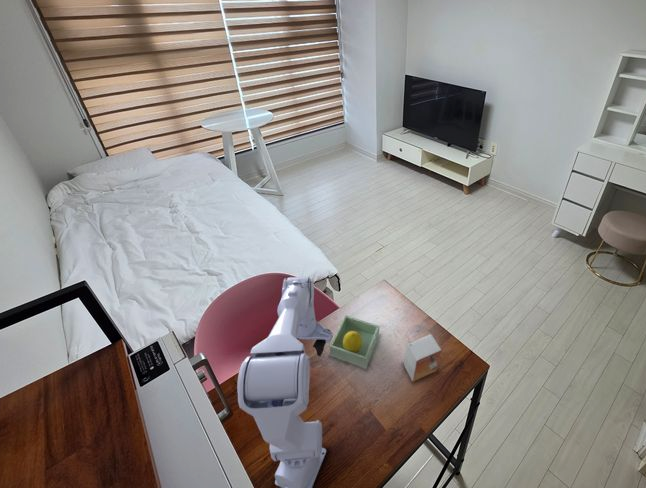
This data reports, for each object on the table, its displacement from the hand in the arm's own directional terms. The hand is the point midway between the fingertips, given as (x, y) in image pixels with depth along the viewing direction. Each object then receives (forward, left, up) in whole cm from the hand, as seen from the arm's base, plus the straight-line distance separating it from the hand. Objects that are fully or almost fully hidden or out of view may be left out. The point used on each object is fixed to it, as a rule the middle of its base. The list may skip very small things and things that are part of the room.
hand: (307, 347), depth 87 cm
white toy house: (+11, -29, -11) cm, 33 cm away
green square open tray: (+11, -9, -10) cm, 18 cm away
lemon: (+9, -9, -10) cm, 16 cm away
